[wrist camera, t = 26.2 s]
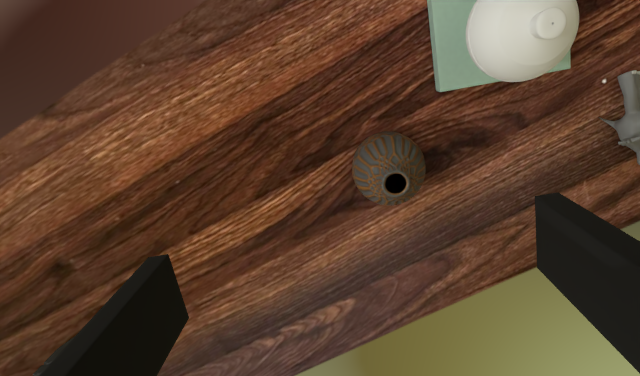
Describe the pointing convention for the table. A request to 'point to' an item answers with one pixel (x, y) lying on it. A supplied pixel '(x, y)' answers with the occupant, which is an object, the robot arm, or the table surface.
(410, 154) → the vase
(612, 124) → the elephant figurine
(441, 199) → the table surface
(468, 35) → the spinning top
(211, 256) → the table surface
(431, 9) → the green push button box
